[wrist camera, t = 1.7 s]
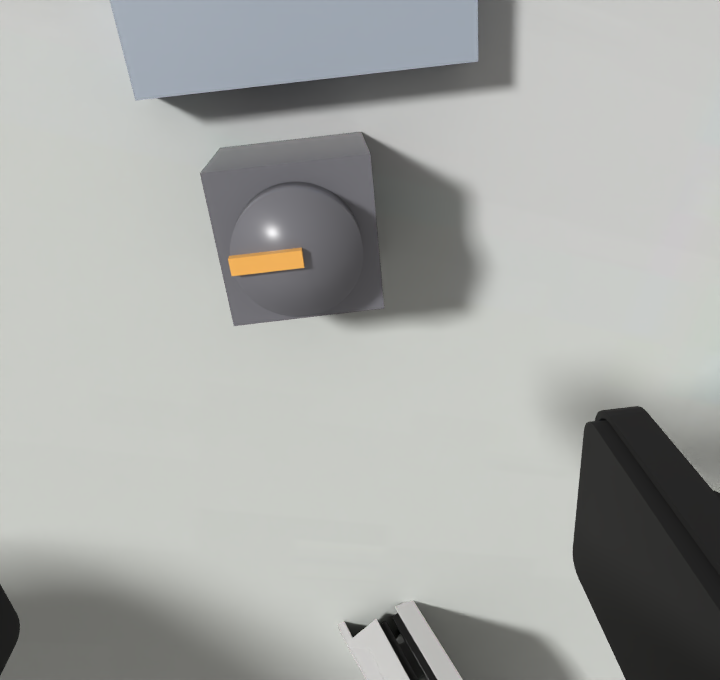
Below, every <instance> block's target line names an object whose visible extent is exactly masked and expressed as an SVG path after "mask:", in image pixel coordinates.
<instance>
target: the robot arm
mask: <svg viewBox="0 0 720 680" xmlns="http://www.w3.org/2000/svg"><path fill="white" fill-rule="evenodd" d="M573 561H574V566H575V569H576V573H577V575H578V578H579V580H580V582H581V584H582V586H583V589H584V591H585V593H586V595H587V597H588V599H589V601H590V604H591V606H592V608H593V610H594V612H595V614H596V617H597V619H598V621H599V623H600V625H601V627H602V629H603V632H604V634H605V636H606V638H607V640H608V642H609V644H610V647H611V649H612V651H613V653H614V655H615V657H616V660H617V662H618V664H619V666H620V668H621V670H622V672H623V675H624V677H625V679H626V680H720V493H718V492H716V491H713V490H712V489H711V488H710V487H709V485H708V484H707V483H706V482H705V481H704V479H703V478H702V477H701V476H700V475H699V474H698V472H697V471H696V470H695V469H694V468H693V466H692V465H691V464H690V463H689V462H688V460H687V459H686V458H685V457H684V456H683V454H682V453H681V452H680V451H679V450H678V449H677V447H676V446H675V445H674V444H673V443H672V441H671V440H670V439H669V438H668V437H667V435H666V434H665V433H664V432H663V431H662V429H661V428H660V427H659V426H658V425H657V423H656V422H655V421H654V420H653V419H652V418H651V416H650V415H649V414H648V413H647V412H646V411H645V410H644V409H643V408H642V407H638V406H635V407H627V408H618V409H610V410H601V411H599V412H598V414H597V415H596V419H595V421H593V422H588V423H586V425H585V428H584V437H583V447H582V458H581V468H580V479H579V489H578V500H577V510H576V521H575V531H574V542H573ZM19 630H20V623H19V618H18V615H17V613H16V612H15V610H14V608H13V606H12V604H11V603H10V601H9V599H8V597H7V595H6V594H5V592H4V590H3V588H2V586H1V585H0V675H1V673H2V671H3V669H4V667H5V665H6V663H7V661H8V659H9V657H10V655H11V653H12V651H13V649H14V647H15V645H16V642H17V640H18V636H19Z"/></svg>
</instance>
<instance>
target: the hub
mask: <svg viewBox="0 0 720 680" xmlns="http://www.w3.org/2000/svg"><path fill="white" fill-rule="evenodd" d="M110 3H111V7H112V11H113V15H114V19H115V23H116V26H117V30H118V34H119V38H120V42H121V46H122V50H123V54H124V58H125V61H126V65H127V69H128V73H129V77H130V81H131V85H132V89H133V92H134V96H135V100H143V99H152V98H161V97H170V96H178V95H187V94H196V93H205V92H214V91H222V90H231V89H240V88H249V87H258V86H266V85H275V84H284V83H293V82H302V81H310V80H319V79H328V78H337V77H346V76H354V75H363V74H372V73H381V72H390V71H398V70H407V69H416V68H425V67H433V66H442V65H451V64H460V63H469V62H477V61H478V0H110Z"/></svg>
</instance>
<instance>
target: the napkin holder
mask: <svg viewBox="0 0 720 680" xmlns="http://www.w3.org/2000/svg"><path fill="white" fill-rule="evenodd" d="M395 609H396V611H397V614H396V615H394V616H393V617H392V618H393V620H394V622H395V624H396V626H397V628H398V630H399V632H400V634H399V636H398V637H397V639H395V637H394V635H393V633H392V631H391V630H390V628H389V626H388V624H387V622H386V621H385V622H383V623H382V624H379V623H378V621H377V619H375V620H374V621H373V622H371V623H370V624H369V625H368V626H367V627H365V628H364V629H363V630H362V631H361V632H359V633H358V634H357V635H356V636H354V637H353V636H352V634H351V633H350V631H349V629H348V627H347V625H346V623H345V622H341V623H339V624H338V625H337V626H338V628H339V630H340V632H341V634H342V636H343V638H344V641H345V643H346V645H347V647H348V648H349V650H350V652H351V654H352V656H353V657H354V659H355V661H356V663H357V664H358V666H359V668H360V670H361V672H362V673H363V675H364V677H365V679H366V680H463V679H462V677H461V676H460V674H459V673H458V671H457V669H456V668H455V666H454V665H453V663H452V661H451V660H450V658H449V657H448V655H447V653H446V652H445V650H444V649H443V647H442V645H441V644H440V642H439V641H438V639H437V638H436V636H435V634H434V633H433V631H432V630H431V628H430V626H429V625H428V623H427V622H426V620H425V618H424V617H423V615H422V614H421V612H420V610H419V609H418V607H417V606H416V604H415V602H414V601H407V602H404V603H402V604H399V605H397V606H395Z"/></svg>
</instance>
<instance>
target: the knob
mask: <svg viewBox="0 0 720 680" xmlns="http://www.w3.org/2000/svg"><path fill="white" fill-rule="evenodd" d="M200 175H201V180H202V184H203V189H204V193H205V198H206V202H207V207H208V211H209V216H210V220H211V225H212V229H213V234H214V238H215V243H216V247H217V252H218V256H219V261H220V265H221V270H222V274H223V279H224V283H225V288H226V292H227V297H228V301H229V306H230V310H231V315H232V319H233V324H234V326H238V325H246V324H255V323H263V322H272V321H280V320H289V319H297V318H306V317H314V316H322V315H331V314H339V313H348V312H356V311H365V310H373V309H382V308H384V300H383V289H382V277H381V266H380V255H379V244H378V232H377V221H376V210H375V198H374V187H373V176H372V165H371V154H370V151H369V149H368V147H367V144H366V142H365V140H364V137H363V135H362V133H361V132H355V133H346V134H337V135H328V136H320V137H311V138H302V139H294V140H285V141H276V142H267V143H259V144H250V145H241V146H233V147H224V148H220V149H219V150H218V151H217V152H216V154H215V155H214V156H213V158H212V159H211V160H210V161H209V163H208V164H207V165H206V166H205V168H204V169H203V170H202V172H201V173H200Z"/></svg>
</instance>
